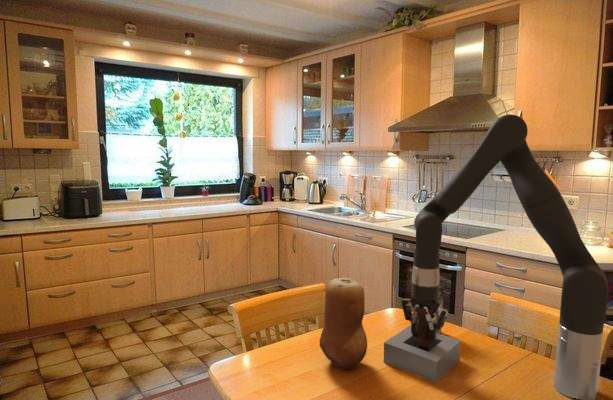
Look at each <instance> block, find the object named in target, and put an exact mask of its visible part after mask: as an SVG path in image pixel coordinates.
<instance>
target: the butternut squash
mask: <svg viewBox="0 0 613 400" xmlns="http://www.w3.org/2000/svg"><path fill="white" fill-rule="evenodd" d="M364 289H365V288H364V287H363V286H362V284H361V283H360V282H358V281H357V280H355V279H353V278H350V277H340V278H339V277H338V278H334V279H331V280H330V281H329V282H328V283H327V285H326V288H325V296H324V297H325V299H324V314H323V315H324V318H323V319H324V320H323V322H324V323H323V328H322V330H321V334H320V338H319V347H320V349H321V351H322V352H323V355H325V357H326V359H328V361H330V362H331V363H332V364H333V365H335V366H336V367H337V368H339V369H342V370H350V369H354V368H356V367H357V366H359V364H361V363H362V361H363V360H364V358H365V356H366V355H367V351H368V338H367V335H366V331H365V329H364V326H363V319H364V316H365V306H366V305H365V302H366V300H365V290H364Z"/></svg>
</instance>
